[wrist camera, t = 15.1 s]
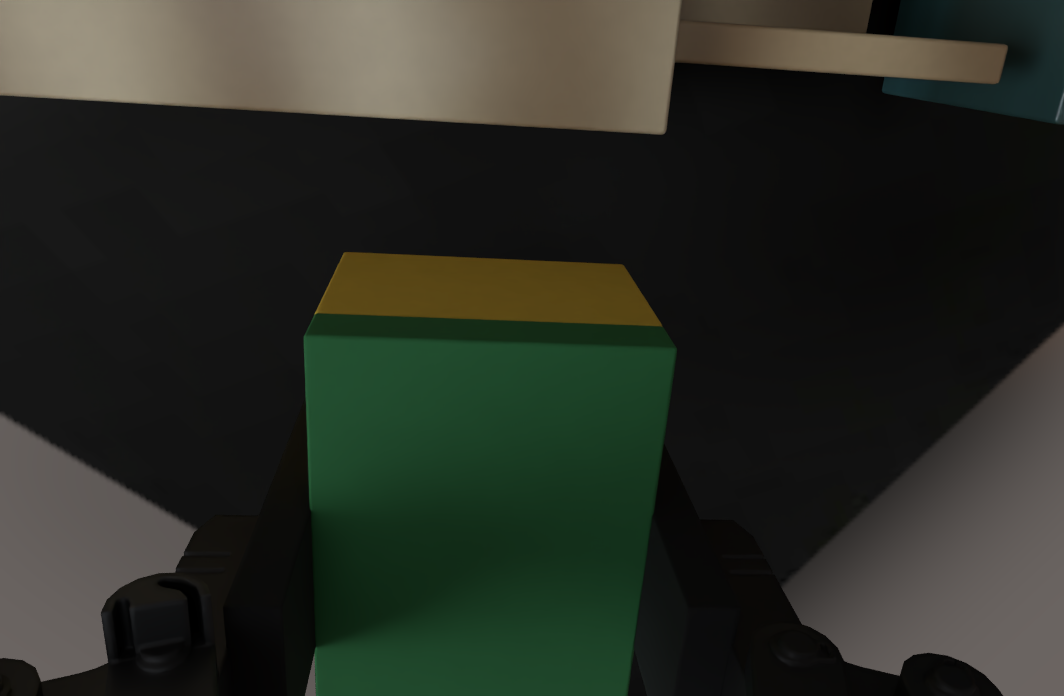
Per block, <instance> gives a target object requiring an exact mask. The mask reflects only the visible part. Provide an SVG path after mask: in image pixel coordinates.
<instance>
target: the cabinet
mask: <svg viewBox="0 0 1064 696" xmlns="http://www.w3.org/2000/svg"><path fill="white" fill-rule="evenodd" d="M681 7H682V0H0V95H6V96H22V97H39V98H56V99H73V100H89V101H106V102H123V103H140V104H156V105H173V106H190V107H207V108H223V109H240V110H257V111H274V112H290V113H307V114H324V115H341V116H357V117H374V118H391V119H408V120H424V121H441V122H458V123H475V124H491V125H508V126H525V127H542V128H558V129H575V130H592V131H609V132H625V133H642V134H659V135H662V134H665V132H666V129H667V121H668V113H669V105H670V96H671V88H672V80H673V72H674V64H675V56H676V48H677V40H678V32H679V24H680V15H681Z"/></svg>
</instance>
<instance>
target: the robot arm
mask: <svg viewBox="0 0 1064 696" xmlns="http://www.w3.org/2000/svg"><path fill="white" fill-rule="evenodd" d="M101 617H102V624H103V631H104V637H105V644H106V650H107V656H108V663H107V664H104V665H103V666H100V667H98V668H96V669H92V670H89V671H86V672H82V673H79V674H74V675H70V676H65V677H61V678H57V679H52V680H48V681H43V682H41V681H40V678H39V675H38V673H37V670H36V668H35V667H33V666H32V665H30V664H28V663H26V662H25V661H23V660H15V659H6V658H2V659H0V696H305V692H306V687H307V683H308V679H309V674H310V670H311V665H312V661H313V656H314V652H315V648H316V646H315V616H314V587H313V557H312V528H311V510H310V506H309V476H308V447H307V418H306V398H305V400H304V403H303V405H302V408H301V410H300V413H299V416H298V418H297V421H296V423H295V426H294V428H293V431H292V433H291V436H290V438H289V441H288V443H287V446H286V448H285V451H284V454H283V456H282V459H281V461H280V464H279V466H278V469H277V471H276V474H275V476H274V479H273V481H272V484H271V486H270V489H269V492H268V494H267V497H266V499H265V502H264V504H263V507H262V509H261V512H260V514H259V516H240V515H215V516H214V517H213V518H211V519H210V520H209V521H208V522H206V523H205V524H204V525H203V526H201V527H200V528H199V529H198V530H197V531H195V532H194V534H193V536H192V538H191V540H190V542H189V544H188V546H187V548H186V549H185V551H184V556H182V558H181V560H180V561H179V564H178V565H177V567H176V572H175V573H159V574H155V575H151V576H147V577H143V578H140V579H137V580H135V581H133V582H131V583H129V584H127V585H125V586H123V587H121V588H120V589H118V590H117V591H116V592H115V593H114V594H113V595H112V596H111V597H110V598H108V599H107V601H106V603H105V605H104V607H103V609H102V612H101ZM634 649H635V653H636V657H637V660H638V664H639V668H640V671H641V675H642V679H643V682H644V686H645V690H646V693H647V696H1003V695H1002V694H1001V692H1000V691H999V689H998V688H997V687H996V686H995V685H994V684H993V683H992V682H991V681H990V680H989V679H988V678H987V677H986V676H985V675H984V674H982V673H981V672H979V671H978V670H976V669H974V668H973V667H972V666H970V665H968V664H967V663H964V662H962V661H959V660H957V659H954V658H952V657H949V656H945V655H939V654H932V653H924V654H917V655H913V656H912V657H910V658H909V659H907V660H906V661H904V664H903V667H902V670H901V674H900V676H897V675H893V674H888V673H885V672H881V671H876V670H872V669H868V668H863V667H860V666H857V665H853V664H850V663H847V662H845V661H844V660H843V658H842V656H841V654H840V652H839V650H838V648H837V647H836V646H835V645H834V644H833V643H832V642H831V641H830V640H829V639H828V638H827V637H826V636H825V635H823V634H821V633H819V632H818V631H816V630H814V629H812V628H811V627H808V626H805V625H802V624H801V622H800V621H799V618H798V617H797V615H796V613H795V611H794V609H793V608H792V606H791V604H790V602H789V601H788V599H787V597H786V595H785V593H784V592H783V590H782V588H781V586H780V584H779V582H778V581H777V579H776V577H775V575H772V570H771V568H770V566H769V564H768V563H767V561H766V559H764V555H763V554H762V552H761V550H760V548H759V546H758V545H757V543H756V541H755V539H754V537H753V536H752V535H750V534H749V533H748V532H747V531H745V530H744V529H743V528H742V527H741V526H739V525H738V524H737V523H736V522H735V521H733V520H700V519H699V517H698V515H697V513H696V511H695V509H694V507H693V504H692V502H691V500H690V498H689V496H688V494H687V492H686V490H685V487H684V485H683V483H682V481H681V479H680V477H679V475H678V472H677V470H676V468H675V466H674V464H673V462H672V460H671V458H670V455H669V453H668V451H667V449H666V447H665V445H663V452H662V459H661V466H660V473H659V480H658V487H657V494H656V501H655V508H654V514H653V516H652V523H651V530H650V537H649V544H648V551H647V558H646V565H645V572H644V579H643V586H642V593H641V600H640V607H639V614H638V621H637V628H636V635H635V642H634Z"/></svg>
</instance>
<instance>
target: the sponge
mask: <svg viewBox="0 0 1064 696" xmlns="http://www.w3.org/2000/svg"><path fill="white" fill-rule="evenodd" d="M676 355H677V348H676V347H675V345H674V343H673V342H672V340H671V339H670V337H669V336H668V334H667V332H666V331H665V329H664V328H663V327H662V324H661V323H660V321H659V320H658V318H657V317H656V315H655V313H654V312H653V310H652V309H651V307H650V306H649V304H648V303H647V301H646V299H645V298H644V296H643V295H642V293H641V292H640V290H639V289H638V287H637V285H636V284H635V282H634V281H633V279H632V278H631V276H630V274H629V273H628V271H627V270H626V268H625V267H624V265H622V264H600V263H577V262H555V261H533V260H511V259H489V258H467V257H445V256H422V255H400V254H378V253H356V252H345V253H344V254H343V256H342V258H341V260H340V262H339V264H338V266H337V268H336V271H335V273H334V275H333V277H332V279H331V281H330V283H329V285H328V287H327V289H326V291H325V294H324V296H323V298H322V300H321V302H320V304H319V306H318V308H317V310H316V312H315V315H314V317H313V319H312V321H311V323H310V325H309V327H308V329H307V332H306V334H305V336H304V359H305V388H306V418H307V447H308V476H309V506H310V510H311V528H312V557H313V587H314V616H315V646H316V648H315V682H316V696H627V695H628V689H629V682H630V675H631V668H632V661H633V654H634V642H635V635H636V628H637V621H638V614H639V607H640V600H641V593H642V586H643V579H644V572H645V565H646V558H647V551H648V544H649V537H650V530H651V523H652V516H653V514H654V508H655V501H656V494H657V487H658V480H659V473H660V466H661V459H662V452H663V445H664V438H665V431H666V425H667V418H668V411H669V404H670V397H671V390H672V383H673V376H674V369H675V362H676Z"/></svg>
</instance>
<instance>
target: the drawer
mask: <svg viewBox="0 0 1064 696" xmlns="http://www.w3.org/2000/svg"><path fill="white" fill-rule="evenodd" d="M872 1H873V0H682V7H681V15H680V24H679V32H678V40H677V48H676V56H675V62H678V63H692V64H707V65H721V66H735V67H750V68H764V69H779V70H793V71H808V72H822V73H836V74H851V75H865V76H880V77H885V78H884V83H883V87H882V92H883V93H885V94H891V95H897V96H902V97H908V98H913V99H919V100H924V101H930V102H936V103H941V104H947V105H952V106H958V107H964V108H969V109H975V110H980V111H986V112H992V113H997V114H1003V115H1008V116H1014V117H1019V118H1025V119H1031V120H1036V121H1042V122H1047V123H1053V124H1063V125H1064V0H901V2H900V7H899V12H898V16H897V21H896V26H895V31H894V35H879V34H866V31H867V26H868V21H869V16H870V11H871V6H872Z"/></svg>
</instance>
